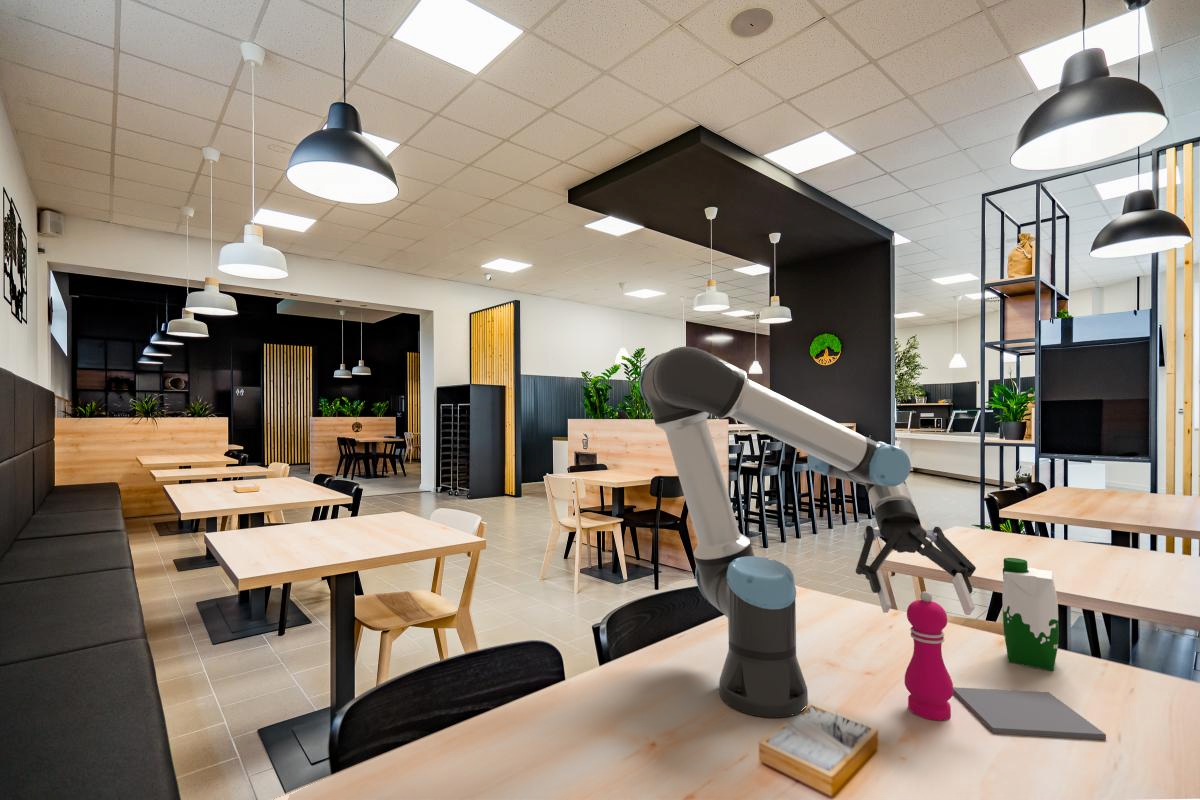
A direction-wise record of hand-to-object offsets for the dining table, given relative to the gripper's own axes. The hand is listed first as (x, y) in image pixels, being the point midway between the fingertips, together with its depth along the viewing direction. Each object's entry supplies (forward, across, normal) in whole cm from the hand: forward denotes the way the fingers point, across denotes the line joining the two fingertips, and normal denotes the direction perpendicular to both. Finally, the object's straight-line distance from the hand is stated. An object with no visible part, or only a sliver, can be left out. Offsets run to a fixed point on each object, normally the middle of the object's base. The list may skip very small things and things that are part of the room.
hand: (928, 610), depth 102 cm
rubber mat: (+13, -14, -10) cm, 21 cm away
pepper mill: (+14, +2, -9) cm, 16 cm away
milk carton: (-3, -28, -26) cm, 38 cm away
